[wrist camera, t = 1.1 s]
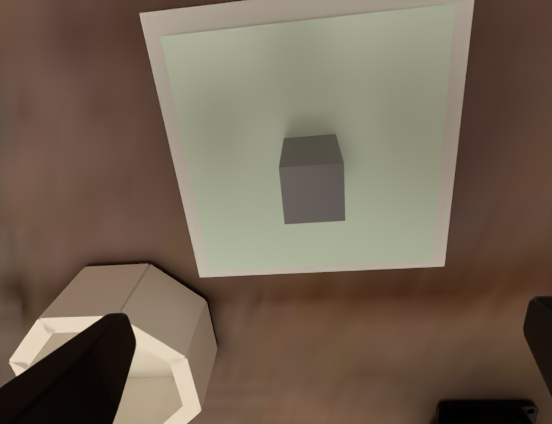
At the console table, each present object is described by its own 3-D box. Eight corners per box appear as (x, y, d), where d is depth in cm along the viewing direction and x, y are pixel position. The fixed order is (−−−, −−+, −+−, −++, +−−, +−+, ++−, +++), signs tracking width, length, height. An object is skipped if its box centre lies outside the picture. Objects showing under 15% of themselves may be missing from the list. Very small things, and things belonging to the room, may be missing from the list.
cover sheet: (448, 4, 16) (503, -3, 11) (427, 252, 21) (459, 311, 17) (166, 35, 17) (120, 40, 13) (213, 262, 22) (191, 320, 18)
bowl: (199, 256, 23) (174, 313, 18) (225, 374, 27) (210, 443, 23) (44, 264, 24) (-15, 320, 19) (93, 376, 28) (54, 443, 24)
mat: (471, -26, 16) (477, -28, 15) (440, 260, 22) (444, 266, 21) (144, 13, 17) (139, 13, 17) (202, 271, 23) (199, 277, 23)
